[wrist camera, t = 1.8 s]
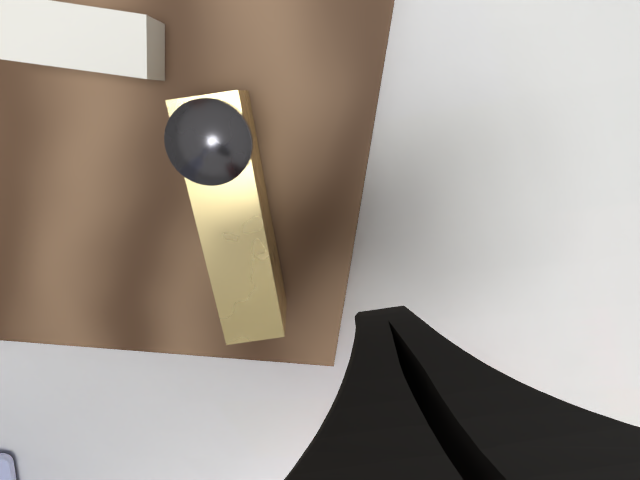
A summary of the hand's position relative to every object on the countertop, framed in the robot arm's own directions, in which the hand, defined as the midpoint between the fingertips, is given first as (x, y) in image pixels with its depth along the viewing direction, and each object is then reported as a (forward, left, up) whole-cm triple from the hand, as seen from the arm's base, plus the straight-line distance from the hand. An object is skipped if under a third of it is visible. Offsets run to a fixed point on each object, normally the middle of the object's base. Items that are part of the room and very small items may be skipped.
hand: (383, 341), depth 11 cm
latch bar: (-5, +1, -8) cm, 9 cm away
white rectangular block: (-11, +7, -8) cm, 15 cm away
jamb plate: (-9, +2, -9) cm, 13 cm away
